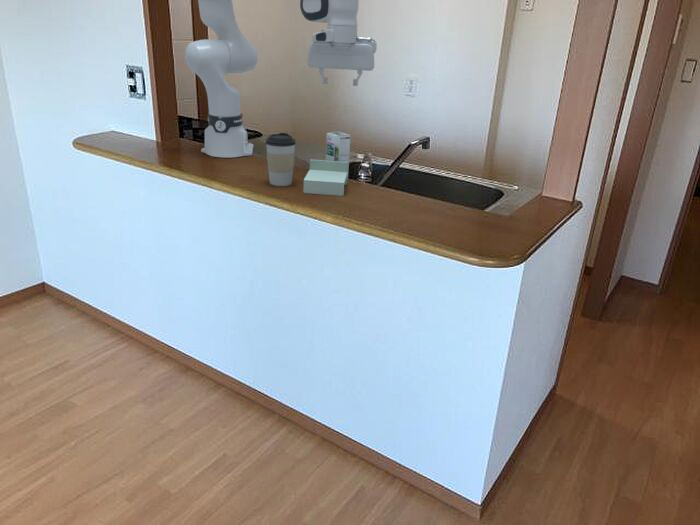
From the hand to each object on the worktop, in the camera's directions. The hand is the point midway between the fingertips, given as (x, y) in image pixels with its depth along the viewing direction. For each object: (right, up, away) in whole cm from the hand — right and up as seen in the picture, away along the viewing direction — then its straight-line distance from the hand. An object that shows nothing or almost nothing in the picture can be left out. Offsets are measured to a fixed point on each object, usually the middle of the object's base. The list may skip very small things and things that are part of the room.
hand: (340, 84), depth 170 cm
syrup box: (-1, -27, +12) cm, 30 cm away
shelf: (-4, -32, +1) cm, 32 cm away
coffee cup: (-19, -30, +4) cm, 35 cm away
